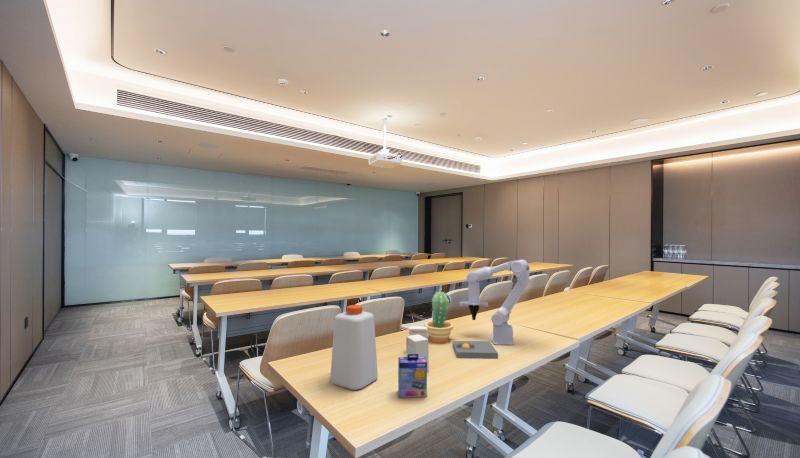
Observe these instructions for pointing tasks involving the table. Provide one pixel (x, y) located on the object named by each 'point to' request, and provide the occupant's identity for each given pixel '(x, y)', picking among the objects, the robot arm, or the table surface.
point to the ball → (465, 345)
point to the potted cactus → (439, 318)
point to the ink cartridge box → (412, 376)
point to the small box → (417, 346)
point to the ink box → (418, 331)
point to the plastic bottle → (354, 349)
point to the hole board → (475, 349)
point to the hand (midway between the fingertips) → (473, 319)
